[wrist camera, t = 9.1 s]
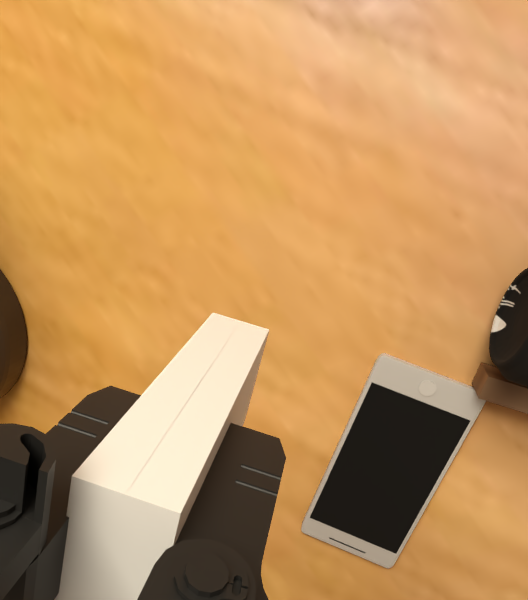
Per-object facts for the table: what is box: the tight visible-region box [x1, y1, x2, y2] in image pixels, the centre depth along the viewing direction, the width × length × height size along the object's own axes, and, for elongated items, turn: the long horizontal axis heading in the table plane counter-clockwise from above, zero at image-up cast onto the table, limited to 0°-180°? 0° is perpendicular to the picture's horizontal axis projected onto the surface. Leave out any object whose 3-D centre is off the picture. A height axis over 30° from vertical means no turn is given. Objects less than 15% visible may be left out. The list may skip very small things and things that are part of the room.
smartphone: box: [301, 353, 486, 568], centre depth 34 cm, size 7×16×1 cm, turn 162°
